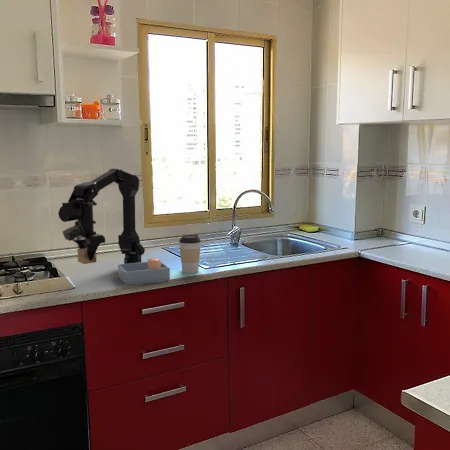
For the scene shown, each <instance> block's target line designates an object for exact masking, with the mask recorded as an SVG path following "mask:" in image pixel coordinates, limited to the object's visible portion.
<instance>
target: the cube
mask: <svg viewBox="0 0 450 450" xmlns="http://www.w3.org/2000/svg"><path fill="white" fill-rule="evenodd" d="M77 262H78V263H80V264H83V265H86V264H93V263H97V251H96V252H95V255H94V257H93V259H92V260H89V257H88V251H87V248H80V249H79V248H77Z"/></svg>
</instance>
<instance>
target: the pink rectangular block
mask: <svg viewBox="0 0 450 450" xmlns="http://www.w3.org/2000/svg"><path fill="white" fill-rule="evenodd" d="M147 262H148V269H158V268H161V262H162V260H161V258H157V257H154V258H153V257H152V258H150V257H149V258H148V259H147Z"/></svg>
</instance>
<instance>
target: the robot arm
mask: <svg viewBox="0 0 450 450" xmlns="http://www.w3.org/2000/svg"><path fill="white" fill-rule="evenodd" d="M112 183H115V184H117V186H118V187H117V188H118V190H119V193H120V194H121V196H122V225H123V228H122V229H123V231H122V232H121V233H120V234H119V235H117V237H118V238H117V239H118V243H117V244H118V247H119V249H120V252H121V254H122V255H124V258H123V264H129V263H139V262H142V256H143V255H144V254H145V250H146V249H145V247H144V246H143V244H141V241H140V236H139V234H138V233H137V231H136V195H137V193H138V192H139V190H140V189H139V188H140V179H139V177H138V176H137V175H135V174H131V173H129V172H127V171H124V170H123V169H120V168H109V170H108V171H106V172H105V173H103V174H101V175H99V176H98V177H96V178H94V179H92V180H89V181H86V182H82V183H78V184H76V185H75V186H74V187H73V191H72V192H71V194H70V196H69V199H68V201H67V202H62V203H61V206H60V208H59V209H58V217H59V219H60V221H61V222H63V223H66V222H71V221H74V225H73V226H71V227H68V228H66V229H65V230H63V231H62V235H63V237H64V239H65V240H66V241H67V240H68V241H72V242H74V243H75V244H76V245H77V247H78V249H80V248H87V251H88V257H89V260H92V259H93V257H94V255H95V252H96V253H97V250H98V248H99V246H100V245H101V244H105V243H106V236H104V234H99V233H98V234H97V231H94V230H95V229H94V225H95V224H96V223H97V222H96V220H94V206H97V204H98V203H97V202H96V201H95V200H94V199H95V198H97V196H98V195H99V192H100V191H101V190H103V189H105V188H107V187H108V186H109V185H111V184H112Z"/></svg>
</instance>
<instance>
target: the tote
mask: <svg viewBox="0 0 450 450" xmlns="http://www.w3.org/2000/svg"><path fill="white" fill-rule="evenodd" d="M117 271H118V272H117V274H118V278H119V280H121V281H122V282H123V284H124V285H126V286H130V285H131V286H132V285H138V284H141V285H142V284H147V283H157V282H166V281H171V267H170V266H168V265H167V264H166V263H164V262H163V261H161V268H158V269H148V261H141V262H139V263H129V264H124V263H121V264H120V263H119V264H117Z"/></svg>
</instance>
